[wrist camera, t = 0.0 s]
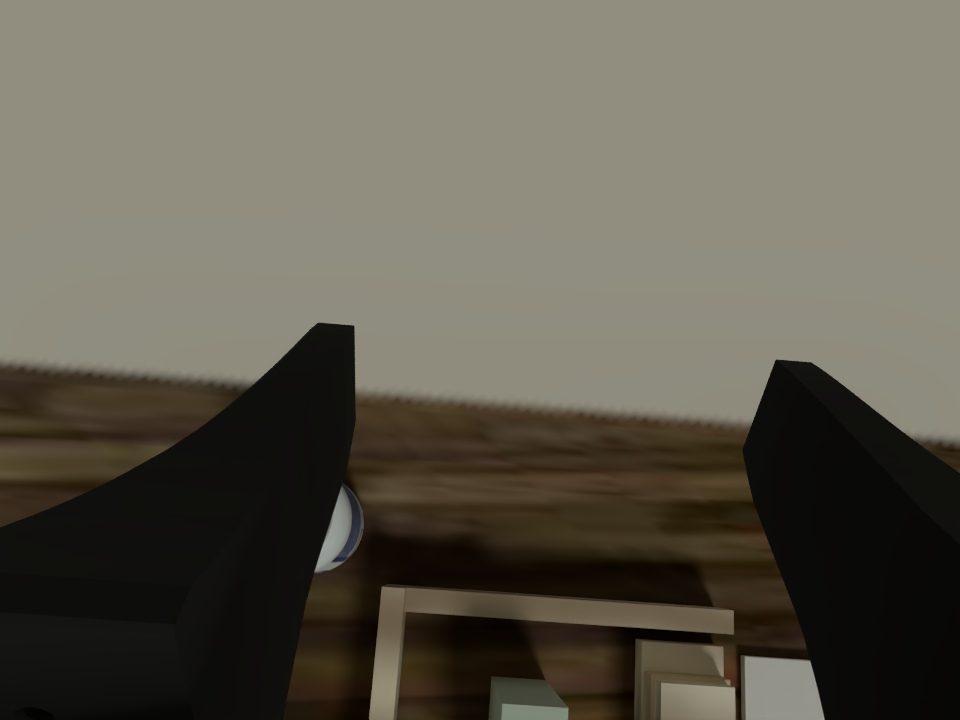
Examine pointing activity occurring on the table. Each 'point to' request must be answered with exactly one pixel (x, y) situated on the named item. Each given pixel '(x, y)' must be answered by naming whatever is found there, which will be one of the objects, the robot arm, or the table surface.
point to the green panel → (524, 700)
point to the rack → (658, 664)
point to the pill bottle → (342, 531)
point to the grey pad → (778, 689)
